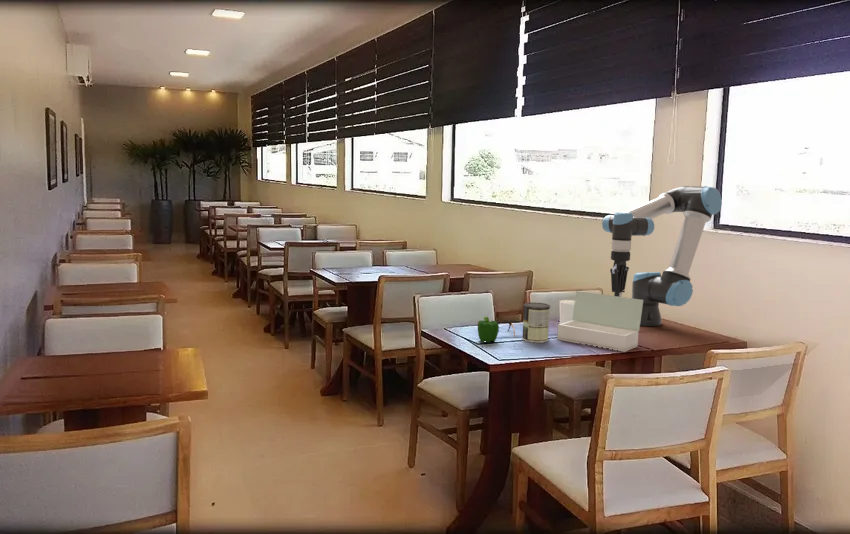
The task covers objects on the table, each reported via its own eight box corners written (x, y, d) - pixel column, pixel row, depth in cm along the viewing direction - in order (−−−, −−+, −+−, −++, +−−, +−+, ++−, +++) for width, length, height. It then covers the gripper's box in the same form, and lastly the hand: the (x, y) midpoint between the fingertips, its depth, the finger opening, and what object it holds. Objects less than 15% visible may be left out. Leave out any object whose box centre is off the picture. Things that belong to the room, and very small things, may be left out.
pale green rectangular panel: (572, 320, 280) (573, 320, 281) (638, 330, 263) (639, 330, 264) (576, 291, 280) (577, 291, 281) (642, 299, 263) (643, 300, 264)
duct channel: (571, 334, 281) (572, 320, 280) (637, 346, 263) (638, 331, 263) (557, 339, 272) (558, 324, 271) (624, 351, 254) (625, 336, 253)
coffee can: (516, 339, 270) (518, 304, 268) (532, 335, 277) (533, 301, 276) (537, 344, 263) (539, 308, 261) (553, 340, 270) (555, 305, 268)
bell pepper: (488, 338, 271) (489, 313, 270) (502, 342, 264) (503, 317, 263) (471, 340, 267) (472, 315, 265) (485, 344, 260) (486, 319, 259)
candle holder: (574, 326, 296) (575, 299, 295) (586, 331, 287) (587, 303, 286) (553, 327, 293) (555, 300, 292) (565, 332, 284) (566, 304, 283)
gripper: (618, 248, 284) (615, 304, 287) (605, 250, 274) (601, 308, 277) (636, 250, 279) (632, 307, 282) (622, 252, 269) (619, 311, 272)
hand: (617, 308), depth 280 cm, fingers closed
